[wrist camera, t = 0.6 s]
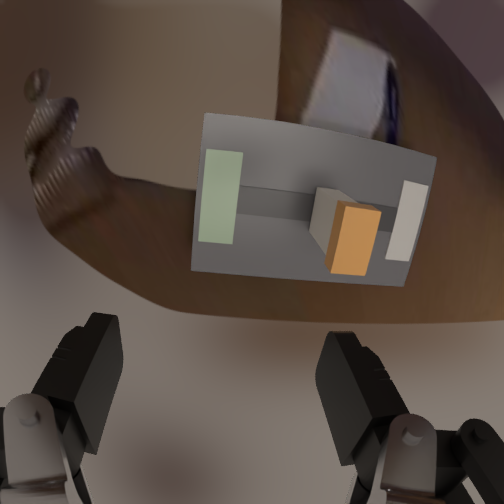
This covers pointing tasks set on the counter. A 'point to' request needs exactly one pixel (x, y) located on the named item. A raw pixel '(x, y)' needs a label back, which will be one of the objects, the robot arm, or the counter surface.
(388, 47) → the counter surface
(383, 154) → the breaker housing
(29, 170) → the counter surface
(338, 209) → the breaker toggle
